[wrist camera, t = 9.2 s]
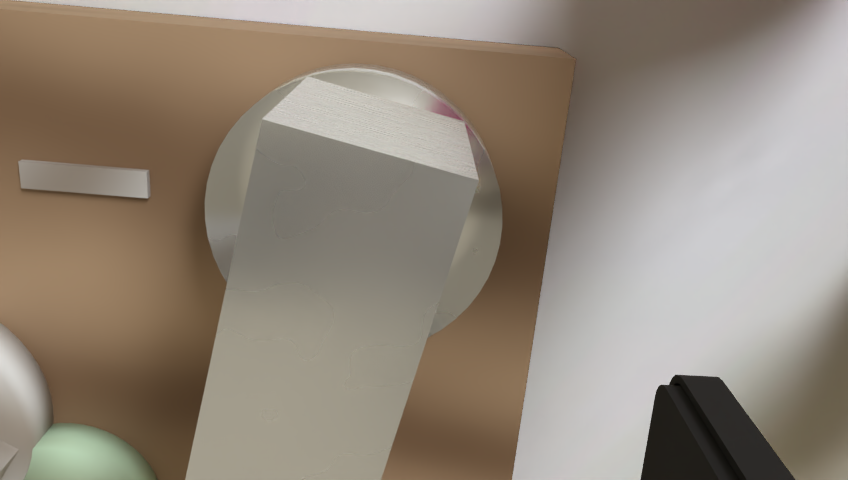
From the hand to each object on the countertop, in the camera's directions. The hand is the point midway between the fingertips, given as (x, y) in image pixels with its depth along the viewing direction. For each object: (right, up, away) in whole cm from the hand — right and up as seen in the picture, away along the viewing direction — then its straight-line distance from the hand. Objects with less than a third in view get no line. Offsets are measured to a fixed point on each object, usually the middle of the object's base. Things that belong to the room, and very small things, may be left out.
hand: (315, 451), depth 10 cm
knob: (-1, +1, +10) cm, 10 cm away
